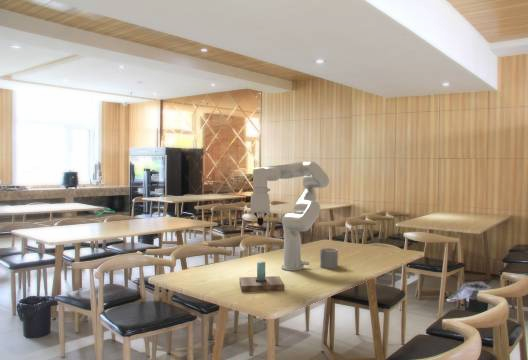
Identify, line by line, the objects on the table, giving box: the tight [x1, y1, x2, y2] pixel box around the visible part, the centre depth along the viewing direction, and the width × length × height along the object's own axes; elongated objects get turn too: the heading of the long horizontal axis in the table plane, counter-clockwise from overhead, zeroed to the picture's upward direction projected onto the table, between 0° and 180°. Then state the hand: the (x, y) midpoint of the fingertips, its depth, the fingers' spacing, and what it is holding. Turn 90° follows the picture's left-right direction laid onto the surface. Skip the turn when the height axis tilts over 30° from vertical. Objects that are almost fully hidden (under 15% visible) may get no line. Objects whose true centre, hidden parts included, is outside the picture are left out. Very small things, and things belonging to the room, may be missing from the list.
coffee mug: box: [319, 247, 339, 270], centre depth 260 cm, size 13×10×10 cm
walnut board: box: [239, 275, 285, 293], centre depth 216 cm, size 20×16×3 cm
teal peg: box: [256, 261, 266, 282], centre depth 216 cm, size 4×4×12 cm
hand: (260, 225), depth 237 cm, fingers closed
